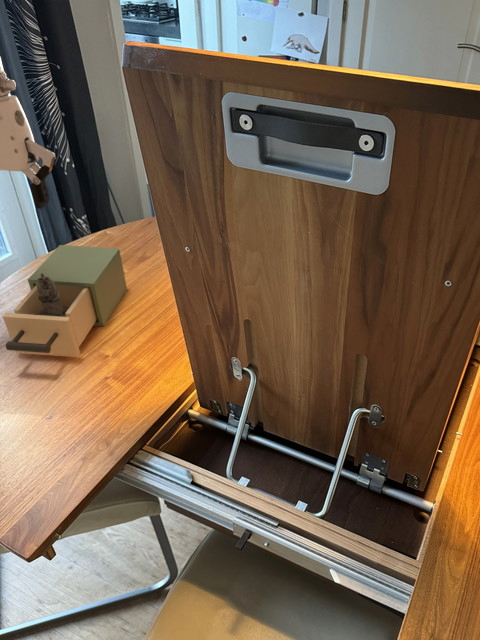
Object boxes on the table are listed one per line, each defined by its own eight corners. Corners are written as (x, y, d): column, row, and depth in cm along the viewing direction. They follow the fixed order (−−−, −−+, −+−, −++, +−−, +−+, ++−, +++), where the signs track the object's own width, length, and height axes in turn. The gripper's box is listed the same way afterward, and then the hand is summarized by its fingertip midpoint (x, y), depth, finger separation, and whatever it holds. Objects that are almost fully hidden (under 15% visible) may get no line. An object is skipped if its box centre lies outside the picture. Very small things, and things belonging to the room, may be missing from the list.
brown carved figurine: (75, 319, 100) (59, 263, 92) (76, 336, 95) (59, 278, 88) (42, 324, 98) (24, 267, 90) (42, 341, 94) (22, 283, 86)
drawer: (66, 374, 88) (55, 337, 84) (2, 370, 89) (-13, 333, 84) (104, 315, 103) (96, 281, 98) (48, 312, 103) (37, 277, 98)
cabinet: (103, 326, 101) (93, 283, 95) (41, 322, 102) (27, 279, 96) (127, 288, 113) (119, 248, 106) (70, 285, 113) (59, 244, 107)
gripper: (49, 85, 76) (74, 198, 87) (-63, 77, 77) (-24, 191, 88) (25, 96, 70) (55, 216, 81) (-96, 88, 71) (-50, 208, 82)
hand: (14, 203), depth 85 cm, fingers open, 9 cm apart
